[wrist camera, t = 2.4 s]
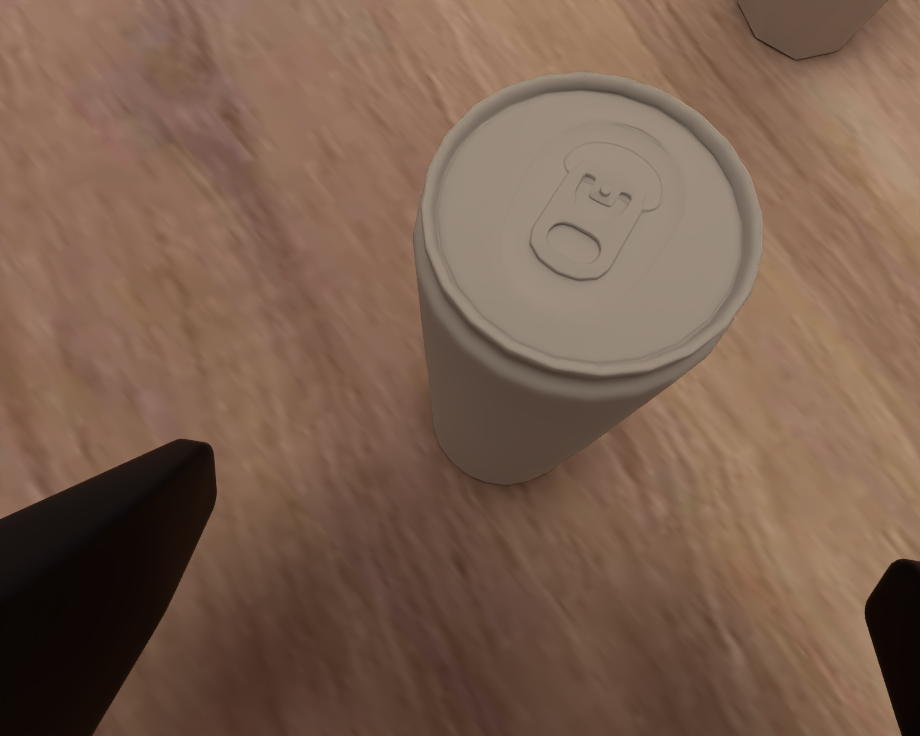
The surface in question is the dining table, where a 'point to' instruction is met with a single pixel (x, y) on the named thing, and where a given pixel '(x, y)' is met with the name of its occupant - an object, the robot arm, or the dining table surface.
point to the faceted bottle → (807, 23)
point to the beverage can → (573, 265)
